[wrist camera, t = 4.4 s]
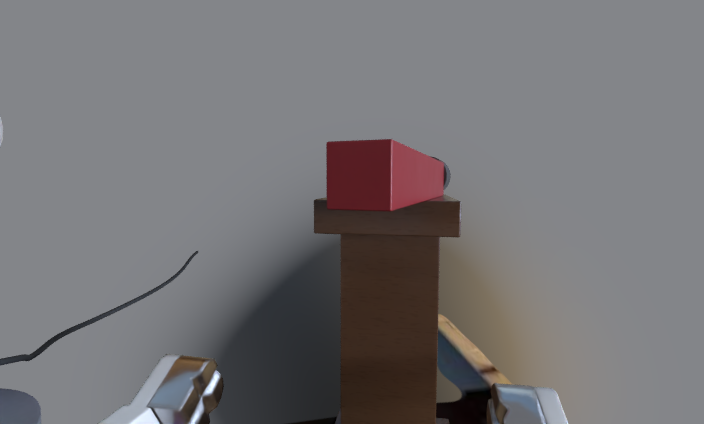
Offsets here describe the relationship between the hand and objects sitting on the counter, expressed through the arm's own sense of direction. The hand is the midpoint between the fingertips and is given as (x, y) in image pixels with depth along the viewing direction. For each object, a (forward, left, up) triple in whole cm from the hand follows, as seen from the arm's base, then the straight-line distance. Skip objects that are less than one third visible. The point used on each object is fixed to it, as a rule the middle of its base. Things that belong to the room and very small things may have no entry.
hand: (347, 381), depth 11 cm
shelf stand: (-16, +14, -21) cm, 30 cm away
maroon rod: (-11, +12, +5) cm, 17 cm away
